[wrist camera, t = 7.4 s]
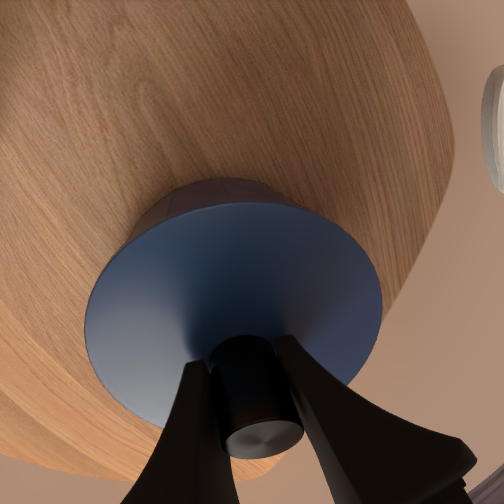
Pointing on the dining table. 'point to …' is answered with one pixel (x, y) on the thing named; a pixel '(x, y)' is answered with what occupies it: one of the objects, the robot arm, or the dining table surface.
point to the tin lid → (232, 314)
